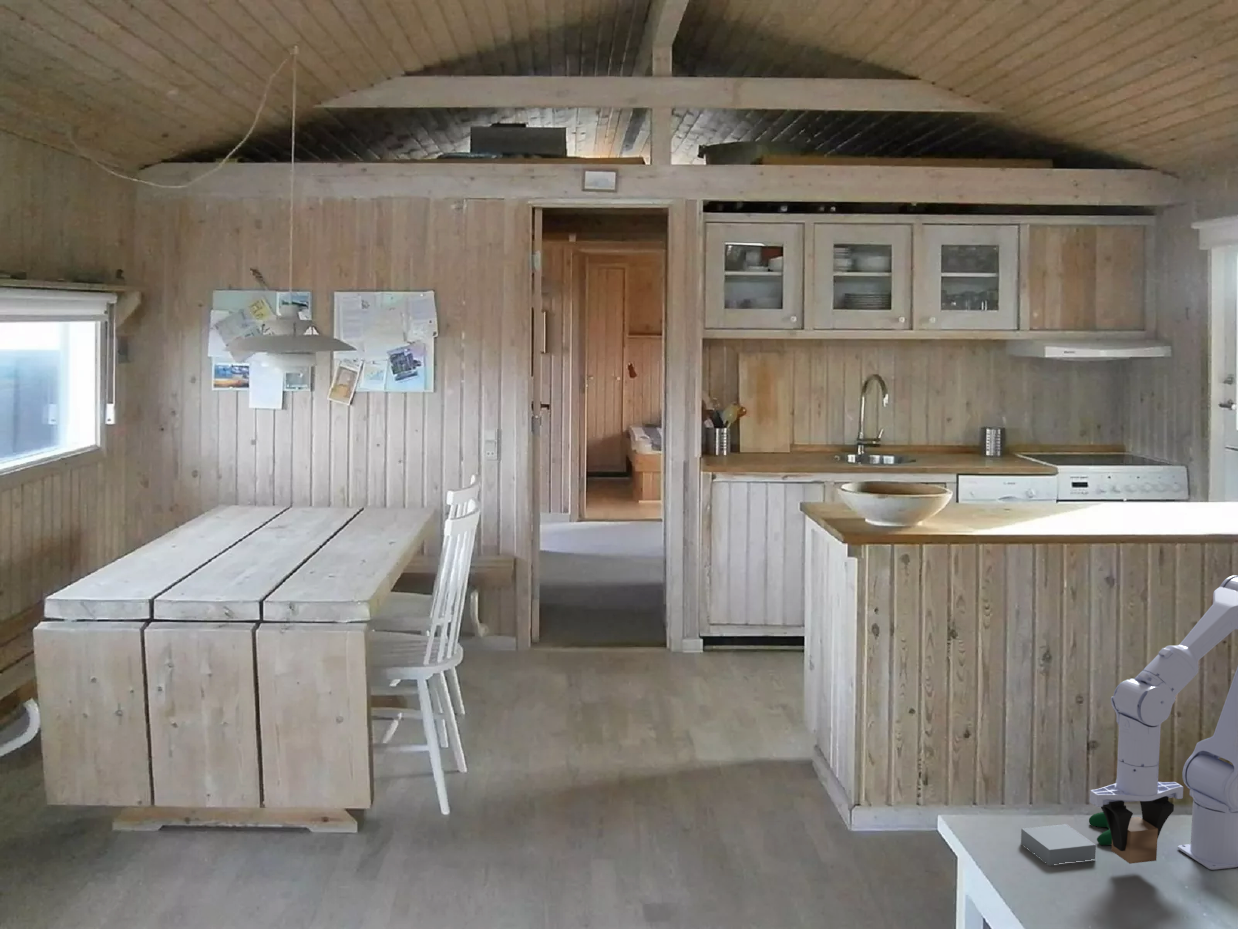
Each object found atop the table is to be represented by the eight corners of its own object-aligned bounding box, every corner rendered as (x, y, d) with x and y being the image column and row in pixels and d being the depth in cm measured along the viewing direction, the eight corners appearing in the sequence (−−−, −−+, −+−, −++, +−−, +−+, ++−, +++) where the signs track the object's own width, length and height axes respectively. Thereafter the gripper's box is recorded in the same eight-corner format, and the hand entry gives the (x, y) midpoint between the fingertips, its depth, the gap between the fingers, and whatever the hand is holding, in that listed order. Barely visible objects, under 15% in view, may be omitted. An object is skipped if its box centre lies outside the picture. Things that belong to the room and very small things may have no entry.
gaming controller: (1112, 859, 192) (1142, 836, 191) (1095, 841, 192) (1125, 818, 191) (1101, 835, 201) (1130, 813, 200) (1085, 818, 201) (1114, 796, 200)
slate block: (1065, 841, 195) (1066, 823, 194) (1095, 863, 187) (1095, 844, 187) (1020, 846, 193) (1021, 828, 193) (1048, 868, 185) (1049, 849, 185)
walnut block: (1137, 847, 185) (1138, 816, 184) (1156, 860, 181) (1157, 828, 180) (1111, 850, 184) (1112, 819, 183) (1129, 863, 180) (1131, 831, 179)
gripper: (1163, 747, 186) (1159, 830, 188) (1079, 754, 183) (1075, 840, 185) (1194, 763, 179) (1189, 850, 181) (1107, 771, 176) (1103, 860, 178)
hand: (1134, 846), depth 182 cm, fingers closed on walnut block, 4 cm apart
